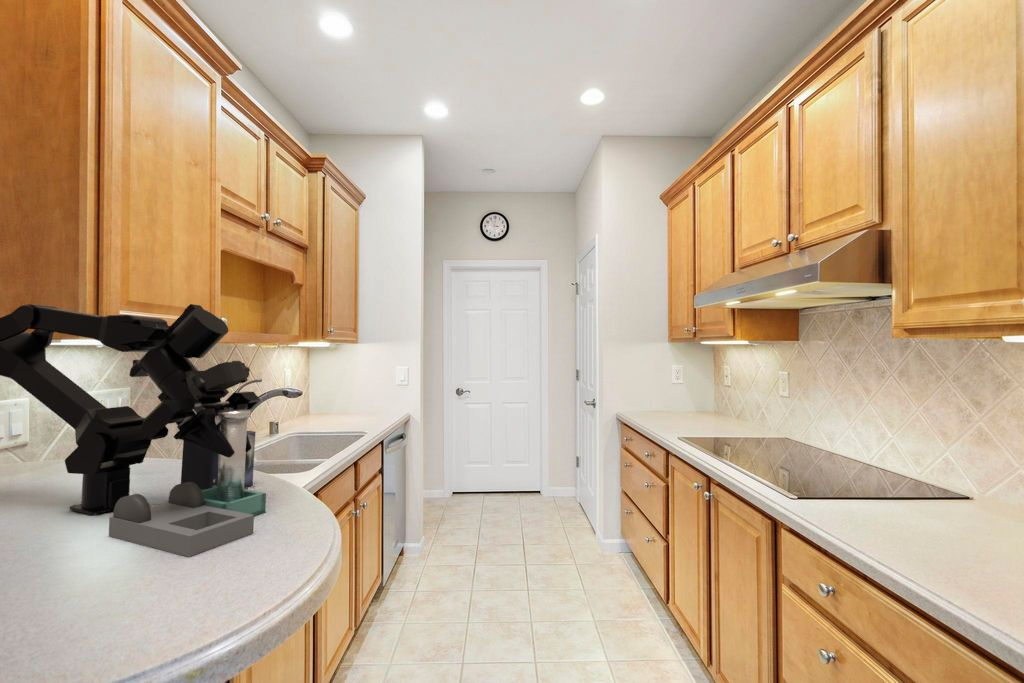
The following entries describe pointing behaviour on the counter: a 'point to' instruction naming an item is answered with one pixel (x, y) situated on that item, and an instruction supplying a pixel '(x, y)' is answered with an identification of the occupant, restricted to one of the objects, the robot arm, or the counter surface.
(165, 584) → the counter surface
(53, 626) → the counter surface
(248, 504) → the tray
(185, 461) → the small box
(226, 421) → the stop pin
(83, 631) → the counter surface
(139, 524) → the socket plate with bumps
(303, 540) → the counter surface
